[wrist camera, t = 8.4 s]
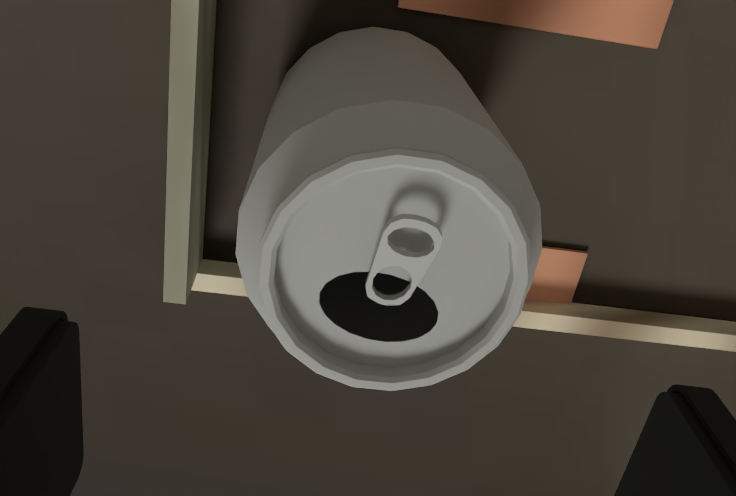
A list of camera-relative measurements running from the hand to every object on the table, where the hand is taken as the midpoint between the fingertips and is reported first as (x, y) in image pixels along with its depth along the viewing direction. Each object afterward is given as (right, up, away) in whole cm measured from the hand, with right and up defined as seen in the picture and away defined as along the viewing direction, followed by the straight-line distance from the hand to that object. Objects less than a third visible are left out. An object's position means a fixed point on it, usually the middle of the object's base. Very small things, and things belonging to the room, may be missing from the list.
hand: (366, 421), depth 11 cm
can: (0, +8, +15) cm, 17 cm away
